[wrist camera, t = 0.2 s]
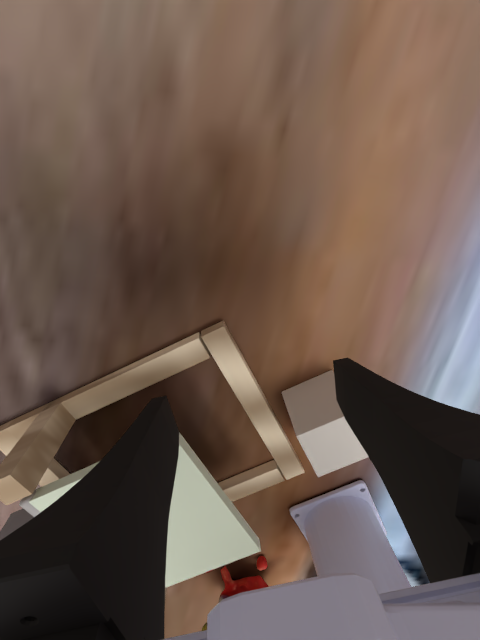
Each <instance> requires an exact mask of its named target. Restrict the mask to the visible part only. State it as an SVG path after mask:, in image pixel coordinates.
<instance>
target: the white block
mask: <svg viewBox="0 0 480 640" xmlns="http://www.w3.org/2000/svg"><path fill="white" fill-rule="evenodd" d="M281 393H282V396H283V399H284V402H285V405H286V407H287V410H288V413H289V416H290V419H291V422H292V425H293V428H294V431H295V434H296V437H297V438H298V440H299V442H300V444H301V446H302V448H303V450H304V452H305V454H306V455H307V457H308V459H309V461H310V463H311V465H312V467H313V469H314V470H315V472H316V474H317V476H318V477H320V476H323V475H325V474H328V473H330V472H333V471H335V470H337V469H340V468H342V467H345V466H347V465H350V464H352V463H355V462H357V461H360V460H362V459H365V458H367V457H369V456H368V455H367V453H366V452H365V450H364V449H363V447H362V445H361V444H360V442H359V441H358V439H357V437H356V436H355V434H354V433H353V431H352V429H351V428H350V426H349V425H348V423H347V421H346V419H345V417H344V415H343V413H342V411H341V409H340V407H339V404H338V402H337V400H336V389H335V377H334V372H333V370H330V371H328V372H326V373H323V374H321V375H319V376H316V377H314V378H312V379H310V380H307V381H305V382H303V383H300V384H298V385H296V386H294V387H291V388H289V389H287V390H284V391H282V392H281Z"/></svg>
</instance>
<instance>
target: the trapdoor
mask: <svg viewBox="0 0 480 640" xmlns="http://www.w3.org/2000/svg"><path fill="white" fill-rule="evenodd" d="M99 462H100V461H99ZM99 462H97V463H95V464H93V465H90V466H88V467H86V468H84V469H81V470H79V471H77V472H74V473H72V474H70V475H68V476H65V477H63V478H61V479H59V480H56V481H54V482H52V483H49V484H47V485H45V486H43V487H40V488H38V489H36V490H34V492H33V494H31V495H29V496H27V497H25V498H22V500H21V501H20V506H21V507H22V508H23V509H21V510H19V511H16V512H14V513H12V514H11V515H10V517H9V518H8V520H7V522H6V523H5V525H4V526H3V528H2V530H1V531H0V540H2V539H3V538H5V537H6V536H8V535H9V534H11V533H12V532H14V531H15V530H17V529H18V528H19V527H21V526H22V525H24V524H25V523H27V522H28V521H30V520H31V519H32V518H34V517H35V516H37V515H38V514H39V513H41V512H42V511H43V510H45V509H46V508H47V507H49V506H50V505H51V504H52V503H54V502H55V501H56V500H57V499H59V498H60V497H61V496H62V495H64V494H65V493H66V492H67V491H68V490H69V489H71V488H72V487H73V486H74V485H75V484H76V483H77V482H79V481H80V480H81V479H82V478H83V477H84V476H85V475H86V474H88V473H89V472H90V471H91V470H92V469H93V468H94V467H95V466H96V465H97V464H98V463H99ZM260 551H261V547H260V539H259V538H258V537H257V535H256V534H255V533H254V531H253V530H252V529H251V527H250V526H249V525H248V523H247V522H246V521H245V519H244V518H243V517H242V515H241V514H240V513H239V511H238V510H237V508H236V507H235V506H234V504H233V503H232V502H231V500H230V499H229V498H228V496H227V495H226V494H225V492H224V491H223V490H222V488H221V487H220V486H219V484H218V483H217V482H216V480H215V479H214V478H213V476H212V475H211V474H210V472H209V471H208V470H207V468H206V467H205V466H204V464H203V463H202V462H201V460H200V459H199V458H198V456H197V455H196V454H195V452H194V451H193V450H192V448H191V447H190V446H189V444H188V443H187V442H186V440H185V439H184V438H183V436H182V435H181V434H180V432H179V456H178V462H177V469H176V475H175V481H174V487H173V493H172V499H171V505H170V512H169V521H168V536H167V552H166V574H165V588H166V587H169V586H171V585H174V584H177V583H179V582H182V581H184V580H187V579H190V578H192V577H195V576H197V575H200V574H203V573H205V572H208V571H210V570H213V569H216V568H218V567H221V566H223V565H226V564H229V563H231V562H234V561H237V560H239V559H242V558H244V557H247V556H250V555H252V554H255V553H257V552H260Z"/></svg>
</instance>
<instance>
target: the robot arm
mask: <svg viewBox="0 0 480 640" xmlns="http://www.w3.org/2000/svg"><path fill="white" fill-rule="evenodd" d="M333 364H334V377H335V389H336V400H337V402H338V404H339V407H340V409H341V411H342V413H343V415H344V417H345V419H346V421H347V423H348V425H349V426H350V428H351V429H352V431H353V433H354V434H355V436H356V437H357V439H358V441H359V442H360V444H361V445H362V447H363V449H364V450H365V452H366V453H367V455H368V456H369V458H370V460H371V461H372V463H373V464H374V466H375V468H376V469H377V471H378V473H379V475H380V477H381V478H382V480H383V482H384V484H385V486H386V488H387V490H388V492H389V494H390V496H391V498H392V500H393V502H394V505H395V507H396V509H397V511H398V513H399V515H400V517H401V519H402V521H403V523H404V525H405V528H406V530H407V532H408V534H409V536H410V538H411V541H412V543H413V545H414V547H415V549H416V552H417V554H418V556H419V558H420V560H421V563H422V565H423V567H424V570H425V572H426V574H427V576H428V579H429V581H430V583H429V584H424V585H420V586H415V587H411V585H410V583H409V581H408V580H407V577H406V575H405V573H404V571H403V569H402V567H401V565H400V563H399V561H398V559H397V557H396V555H395V553H394V551H393V549H392V547H391V545H390V543H389V541H388V539H387V537H386V534H387V532H386V529H385V527H384V525H383V523H382V520H381V518H380V516H379V513H378V511H377V509H376V507H375V504H374V502H373V500H372V498H371V495H370V493H369V491H368V488H367V486H366V484H365V482H364V481H362V480H359V481H356V482H354V483H351V484H349V485H346V486H343V487H341V488H338V489H336V490H333V491H331V492H328V493H326V494H323V495H321V496H318V497H316V498H313V499H311V500H308V501H305V502H303V503H300V504H298V505H295V506H293V507H291V508H290V510H289V511H290V515H291V516H292V518H293V519H294V521H295V522H296V524H297V526H298V527H299V529H300V530H301V532H302V533H303V535H304V536H305V538H306V540H307V541H308V543H309V547H310V551H311V554H312V558H313V562H314V565H315V569H316V573H317V576H318V577H313V578H308V579H304V580H299V581H294V582H289V583H285V584H280V585H275V586H270V587H265V588H261V589H256V590H251V591H246V592H242V593H238V594H236V595H233V596H230V597H228V598H225V599H223V600H221V601H220V602H219V603H218V604H217V605H216V606H215V607H214V608H213V609H212V610H211V611H210V613H209V614H208V619H207V630H205V631H200V632H195V633H191V634H186V635H181V636H176V637H171V638H167V639H164V608H165V574H166V552H167V536H168V521H169V512H170V505H171V499H172V493H173V487H174V481H175V475H176V469H177V462H178V456H179V430H178V427H177V425H176V422H175V419H174V416H173V413H172V411H171V408H170V405H169V402H168V399H167V397H166V396H163V397H158V398H153V399H151V401H150V402H149V403H148V404H147V406H146V407H145V408H144V410H143V411H142V412H141V414H140V415H139V416H138V417H137V419H136V420H135V421H134V423H133V424H132V425H131V426H130V428H129V429H128V430H127V431H126V433H125V434H124V435H123V436H122V437H121V438H120V440H119V441H118V442H117V443H116V444H115V445H114V447H113V448H112V449H111V450H110V451H109V452H108V453H107V454H106V456H105V457H104V458H103V459H102V460H101V461H100V462H99V463H98V464H97V465H96V466H95V467H94V468H93V469H92V470H91V471H90V472H89V473H88V474H86V475H85V476H84V477H83V478H82V479H81V480H80V481H79V482H77V483H76V484H75V485H74V486H73V487H72V488H71V489H69V490H68V491H67V492H66V493H65V494H64V495H62V496H61V497H60V498H59V499H57V500H56V501H55V502H54V503H52V504H51V505H50V506H49V507H47V508H46V509H45V510H43V511H42V512H41V513H39V514H38V515H37V516H35V517H34V518H32V519H31V520H30V521H28V522H27V523H25V524H24V525H22V526H21V527H19V528H18V529H17V530H15V531H14V532H12V533H11V534H9V535H8V536H6V537H5V538H3V539H2V540H0V640H480V415H479V414H475V413H471V412H468V411H464V410H461V409H458V408H455V407H451V406H448V405H445V404H442V403H439V402H437V401H434V400H431V399H429V398H426V397H424V396H421V395H419V394H416V393H414V392H412V391H409V390H407V389H405V388H403V387H401V386H399V385H396V384H395V383H393V382H391V381H389V380H387V379H385V378H383V377H381V376H379V375H377V374H375V373H374V372H372V371H370V370H368V369H367V368H365V367H363V366H361V365H360V364H358V363H356V362H354V361H353V360H351V359H349V358H344V359H339V360H334V361H333Z"/></svg>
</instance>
